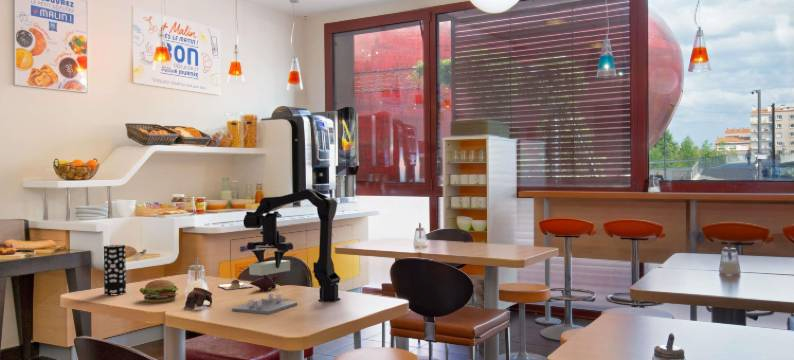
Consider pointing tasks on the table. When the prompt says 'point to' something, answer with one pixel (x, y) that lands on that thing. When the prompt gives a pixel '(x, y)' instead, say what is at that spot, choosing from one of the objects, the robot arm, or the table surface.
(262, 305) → the peg plate
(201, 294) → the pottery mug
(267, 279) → the icecream
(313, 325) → the table surface
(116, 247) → the white-spotted black cylinder
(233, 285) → the dessert
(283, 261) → the shelf board
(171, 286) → the food
